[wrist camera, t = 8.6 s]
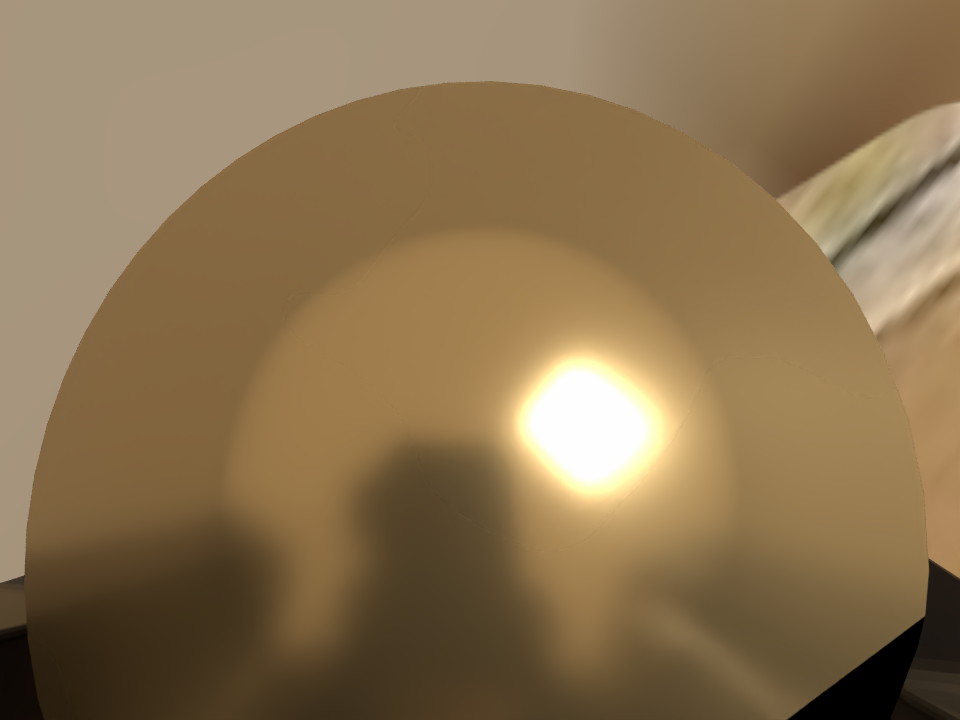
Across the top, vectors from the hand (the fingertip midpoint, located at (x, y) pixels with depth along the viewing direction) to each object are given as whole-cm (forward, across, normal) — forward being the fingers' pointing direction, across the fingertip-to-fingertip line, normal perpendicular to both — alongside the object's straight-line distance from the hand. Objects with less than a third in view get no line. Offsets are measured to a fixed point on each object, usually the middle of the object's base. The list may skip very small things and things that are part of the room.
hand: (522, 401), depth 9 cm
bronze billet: (+4, 0, +6) cm, 7 cm away
